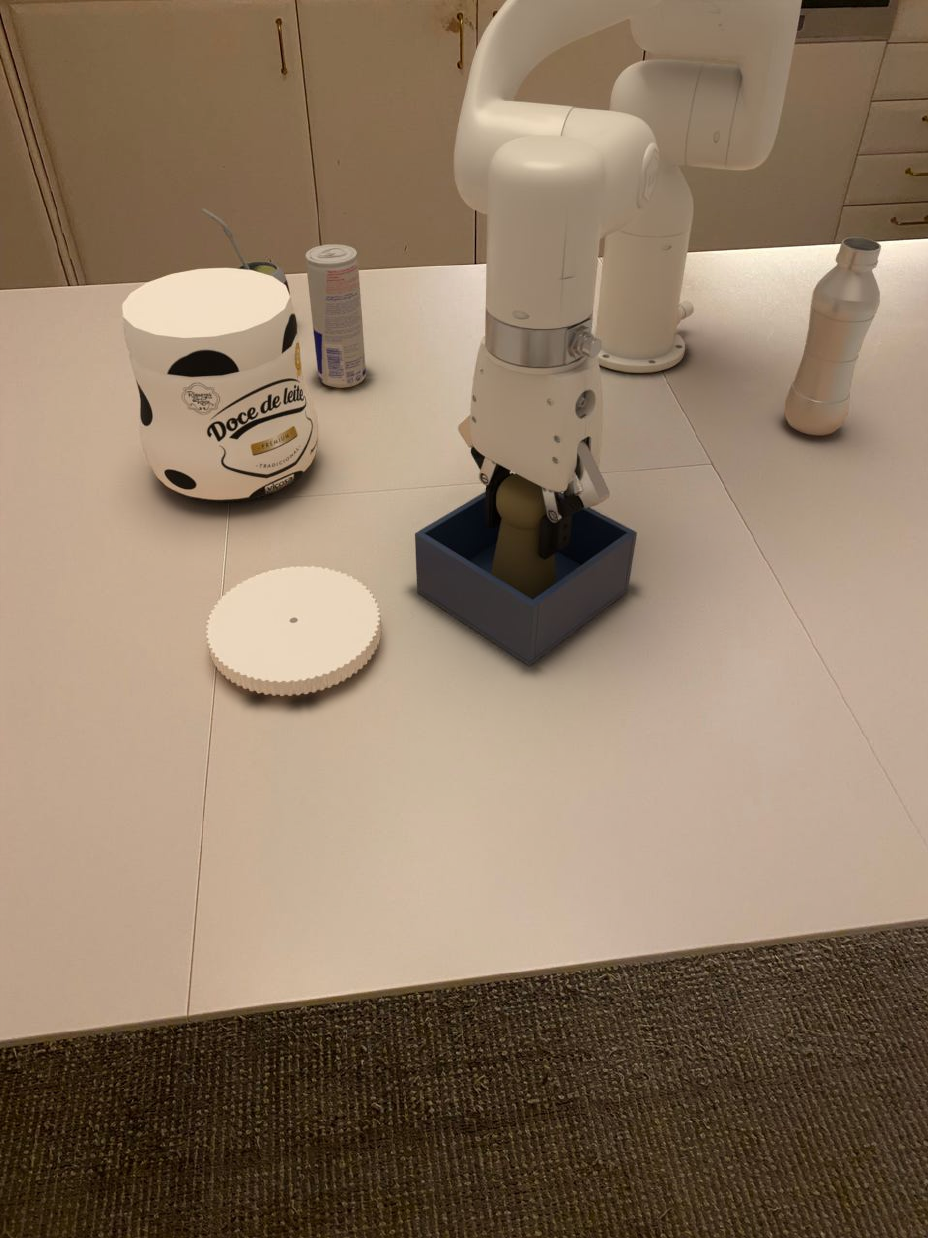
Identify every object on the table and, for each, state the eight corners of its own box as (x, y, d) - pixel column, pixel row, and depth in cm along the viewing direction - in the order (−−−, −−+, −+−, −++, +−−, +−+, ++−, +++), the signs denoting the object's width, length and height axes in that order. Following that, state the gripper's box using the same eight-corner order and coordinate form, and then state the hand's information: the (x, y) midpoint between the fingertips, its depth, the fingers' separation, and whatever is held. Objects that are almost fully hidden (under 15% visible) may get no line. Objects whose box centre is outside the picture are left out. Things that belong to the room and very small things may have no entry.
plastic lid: (385, 587, 84) (383, 564, 83) (377, 703, 74) (375, 680, 72) (226, 588, 84) (221, 566, 82) (196, 706, 74) (190, 683, 72)
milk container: (293, 526, 91) (267, 351, 79) (123, 508, 93) (72, 335, 81) (341, 432, 103) (325, 269, 91) (191, 418, 106) (155, 256, 94)
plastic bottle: (809, 449, 101) (862, 262, 88) (766, 419, 106) (811, 238, 92) (854, 434, 104) (913, 250, 90) (810, 406, 108) (860, 227, 95)
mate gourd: (303, 333, 121) (289, 212, 111) (246, 349, 118) (226, 226, 108) (277, 312, 126) (261, 194, 116) (221, 327, 122) (200, 207, 112)
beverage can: (374, 373, 114) (366, 247, 103) (351, 394, 110) (340, 265, 100) (334, 363, 115) (322, 239, 105) (309, 384, 111) (295, 256, 101)
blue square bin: (517, 528, 91) (519, 470, 86) (628, 591, 84) (637, 532, 80) (416, 592, 84) (414, 533, 79) (529, 666, 77) (533, 606, 73)
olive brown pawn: (552, 613, 81) (561, 508, 74) (482, 604, 82) (484, 498, 74) (561, 569, 85) (570, 465, 78) (495, 561, 86) (498, 457, 79)
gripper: (668, 353, 65) (635, 560, 77) (486, 281, 74) (483, 477, 86) (599, 391, 61) (576, 603, 73) (416, 311, 70) (423, 512, 82)
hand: (526, 533), depth 80 cm, fingers closed on olive brown pawn, 5 cm apart
